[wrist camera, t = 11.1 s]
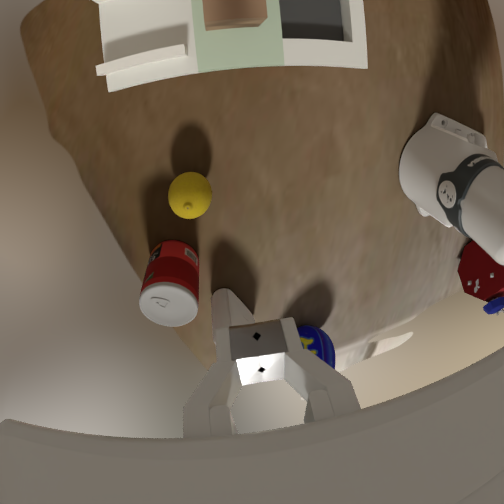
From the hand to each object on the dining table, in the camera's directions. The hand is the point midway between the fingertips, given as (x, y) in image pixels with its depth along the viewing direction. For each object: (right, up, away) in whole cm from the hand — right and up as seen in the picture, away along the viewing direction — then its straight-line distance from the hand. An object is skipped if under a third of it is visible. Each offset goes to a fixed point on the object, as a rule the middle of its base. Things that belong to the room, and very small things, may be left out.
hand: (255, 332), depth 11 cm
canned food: (-12, +2, +35) cm, 37 cm away
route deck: (-2, +32, +15) cm, 36 cm away
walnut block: (-3, +31, +13) cm, 34 cm away
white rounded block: (-3, -7, +42) cm, 43 cm away
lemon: (-8, +13, +28) cm, 32 cm away
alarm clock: (+50, +4, +43) cm, 66 cm away
